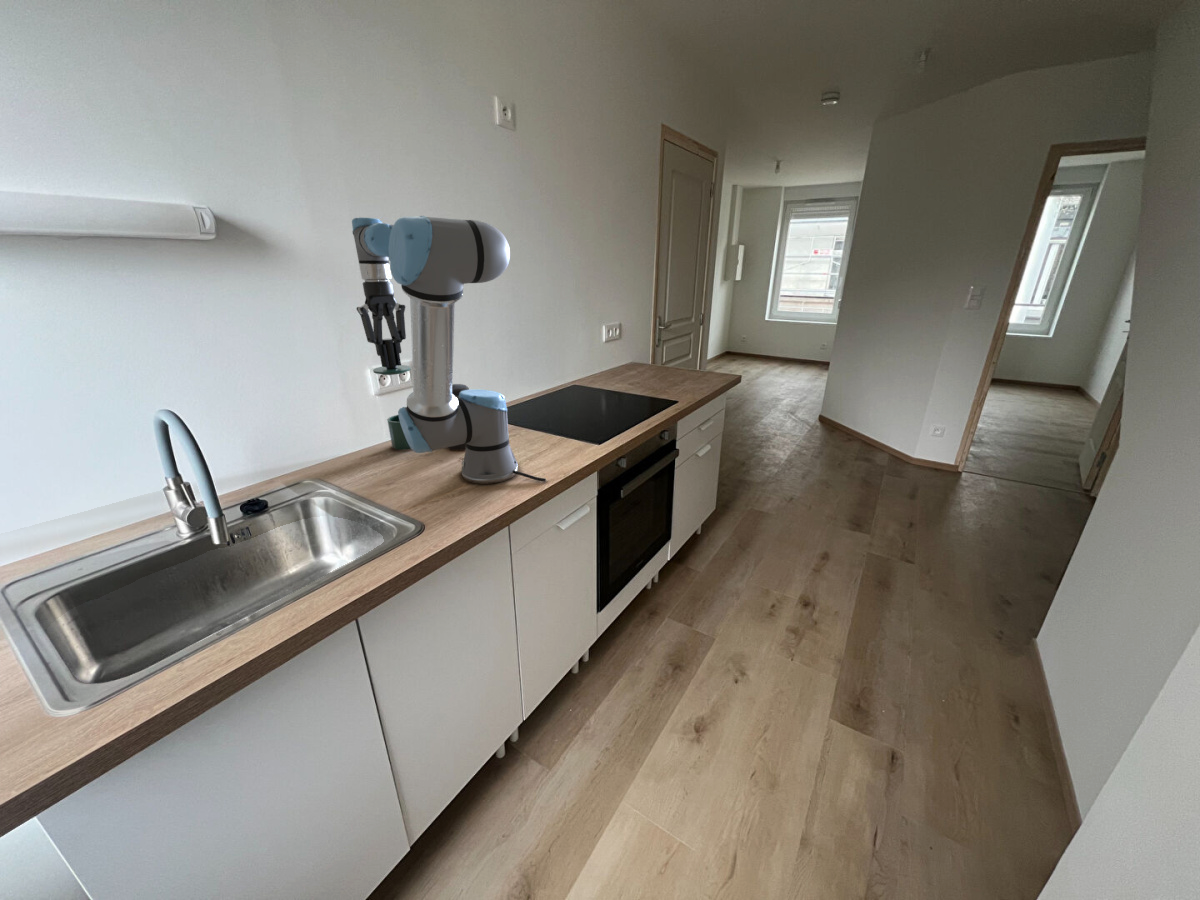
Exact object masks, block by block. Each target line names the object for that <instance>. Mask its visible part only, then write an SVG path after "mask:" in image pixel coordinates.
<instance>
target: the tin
mask: <svg viewBox="0 0 1200 900" xmlns="http://www.w3.org/2000/svg"><path fill="white" fill-rule="evenodd" d="M386 420H387V426H388V432H389V437H390V442H391V446H392V449H395V450H412V449H411V447H410V446H409V444H408V442H407V440H406V438H405V435H404V433H403V430H402V427H401V424H400V420H399V415H398V414H395V415H392V416H389V417H388V418H387V419H386Z"/></svg>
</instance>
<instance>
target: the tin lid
mask: <svg viewBox="0 0 1200 900" xmlns="http://www.w3.org/2000/svg"><path fill="white" fill-rule="evenodd" d="M382 342H383V343H382V344H385V345H386V350H387V356H388V362H389V367H388V368H387V367H382V366H378V367H376V368H373V369H372V372H373V373H374V374H377V375H383V376H395V375H400V374H404V373H407V372H409V371H411V370H412V367H411V366H410V365H404V364H403V365H402V364H401V365H400V366H398V365H397V362H396V356H395V350H394V344H393V339H392V338H382Z"/></svg>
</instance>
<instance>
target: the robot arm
mask: <svg viewBox="0 0 1200 900" xmlns="http://www.w3.org/2000/svg"><path fill="white" fill-rule="evenodd" d="M351 226H352V235H353V239H354V244H355V249H356V254H357V259H358V266H359V271H360V278H361V280H362V289H363V293H364V297H365V301H364V304H362V305H361V306H357V307H356V311H357V313H358V314H359V316H360V319H361V323H362V326H363V329H364V334H365V337H366V341H367V342H368V343H370V344H374V346H375V350H376V355H377V357H380V364H381V367H387V368H388V367H389V362H388V356H387V350H386V345H385V344H382V343H383V342H382V339H383V319H385V321H386V324H387V328H388V331H389V334H390V338H391V339H393V344H394V350H395V356H396V362H397V365H398V366H400V365H402V361H401V355H400V354H402V346H401V343H403V341H404V340H406V339H407V333H406V321H405V312H406V305H405V304H401V303H399V302H397V300H396V299H395V291H394V285H393V282H392V281H391V280H392V278H393V280H394V281H395V282H396V283H397V284H398V285H400V287H401V290H402V292H403V293H404V294H405V295H406V296H407V297H408V298H409V299H410V301H409V302H410V329H411V330H410V332H411V333H410V334H411V361H412V392H410V394H409V395H408V396H407V398H406V406H402V407H400V408H399V409H398V411H397V415H399V420H400V424H401V427H402V430H403V433H404V435H405V438H406V440H407V442H408V444H409V446H410V447H411V449H410V450H412V451H413V452H414V453H416V454H423V453H424V454H425V453H429V452H430V453H433V452H434V451H438V450H442V449H446V448H447V449H448V447H451V446H456V445H460V444H465V445H466V450H464V456H463V459H461V460H462V461H461V477H462V478H463V479H464V480H466V481H468V482H469V483H471V484H477V485H490V484H497V483H502V482H505V481H508V480H510V479H511V478H514V477H515V476H516V475H518V476H521V477H525V478H528V479H531V480H535V481H539V482H543V483H544V482H546V481H547V479H546V478H543V477H538V476H534V475H531V474H528V473H525V472H522V471H519V464H518V461H517V459H516V457H515V454H514V452H513V450H512V447H511V445H510V436H509V435H510V434H509V433H510V432H509V420H508V419H509V418H508V408H507V407H508V406H507V401H506V398H505V395H504V394H502V393H501V392H498V391H494V390H488V389H475V388H473V389H469V390H464V391H461V392H460V393H459V399H457V398H456V396H455V395H453V394H452V384H453V382H454V381H453V377H454V348H455V347H454V345H455V343H454V342H455V316H456V315H455V311H456V303H457V302H458V301H460V300H461V299H462V298H463V295H464V285H465V284H482V283H487V282H491V281H493V280H495V279H497V278H498V277H500V276H501V275H502V274H503V273H504V272H505V271H506V269H507V268H508V266H509V263H510V258H511V249H510V245H509V242H508V240H507V238H506V236H505V235H504V233H503V232H502V231H501V230H499V228H497V227H495V226H494V225H492V224H490V223H488V222H484V221H481V220H475V219H459V218H458V219H457V218H445V217H435V216H434V217H433V216H425V215H419V216H402V217H400V218H398V219H397V220H395V222H394V224H389V223H386V222H383V221H382V220H381V219H379V218H376V217H355V218H352V219H351ZM394 310H395V314H394ZM369 312H371V317H370V314H369ZM371 319H372V320H371Z"/></svg>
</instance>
